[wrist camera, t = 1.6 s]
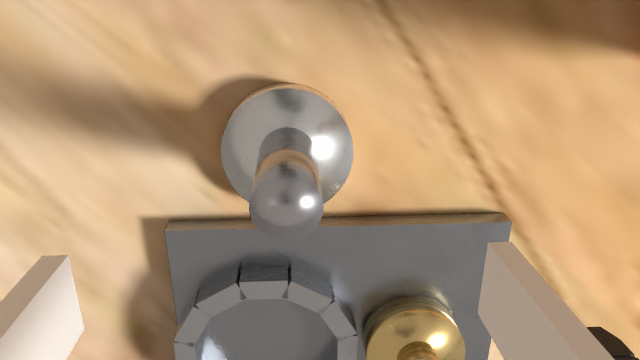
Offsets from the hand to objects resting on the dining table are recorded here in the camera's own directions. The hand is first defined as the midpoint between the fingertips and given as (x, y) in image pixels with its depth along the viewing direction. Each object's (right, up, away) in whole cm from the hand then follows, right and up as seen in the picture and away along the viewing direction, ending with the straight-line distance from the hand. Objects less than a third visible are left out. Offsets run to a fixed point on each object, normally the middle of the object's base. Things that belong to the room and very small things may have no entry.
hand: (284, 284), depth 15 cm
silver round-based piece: (-1, +5, +12) cm, 13 cm away
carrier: (+2, -6, +17) cm, 18 cm away
